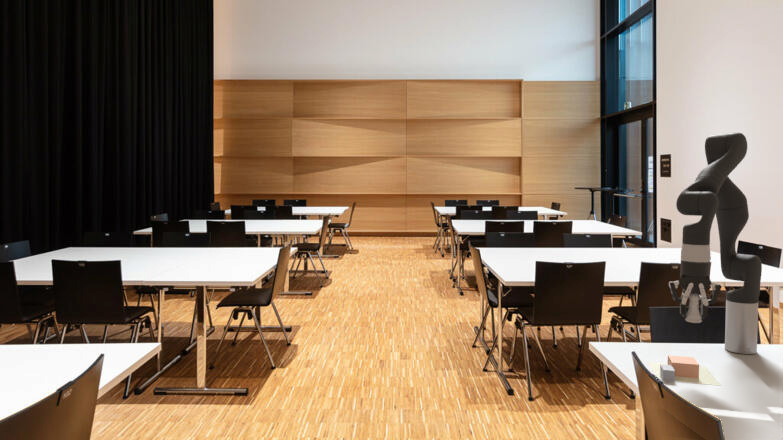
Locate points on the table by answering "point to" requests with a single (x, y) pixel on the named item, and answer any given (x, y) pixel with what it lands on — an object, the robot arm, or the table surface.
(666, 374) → the slate brick
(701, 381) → the plate
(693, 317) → the rook chess piece
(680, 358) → the terracotta brick
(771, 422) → the table surface
